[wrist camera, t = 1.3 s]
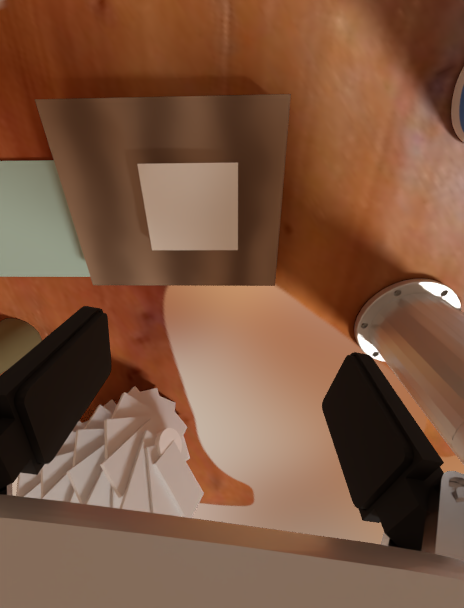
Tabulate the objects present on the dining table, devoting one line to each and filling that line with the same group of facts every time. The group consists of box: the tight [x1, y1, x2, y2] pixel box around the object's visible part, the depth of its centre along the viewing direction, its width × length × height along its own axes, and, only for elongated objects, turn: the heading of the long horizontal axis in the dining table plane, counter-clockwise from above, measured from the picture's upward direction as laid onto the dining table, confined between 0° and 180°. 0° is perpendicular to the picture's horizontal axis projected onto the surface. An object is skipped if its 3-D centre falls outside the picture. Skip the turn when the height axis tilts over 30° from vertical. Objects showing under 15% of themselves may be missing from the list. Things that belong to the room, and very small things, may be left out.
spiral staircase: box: [16, 386, 204, 518], centre depth 36 cm, size 18×18×25 cm
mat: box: [0, 160, 90, 277], centre depth 28 cm, size 18×12×1 cm
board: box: [35, 94, 291, 286], centre depth 24 cm, size 20×16×4 cm
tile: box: [137, 163, 238, 250], centre depth 22 cm, size 8×7×2 cm
